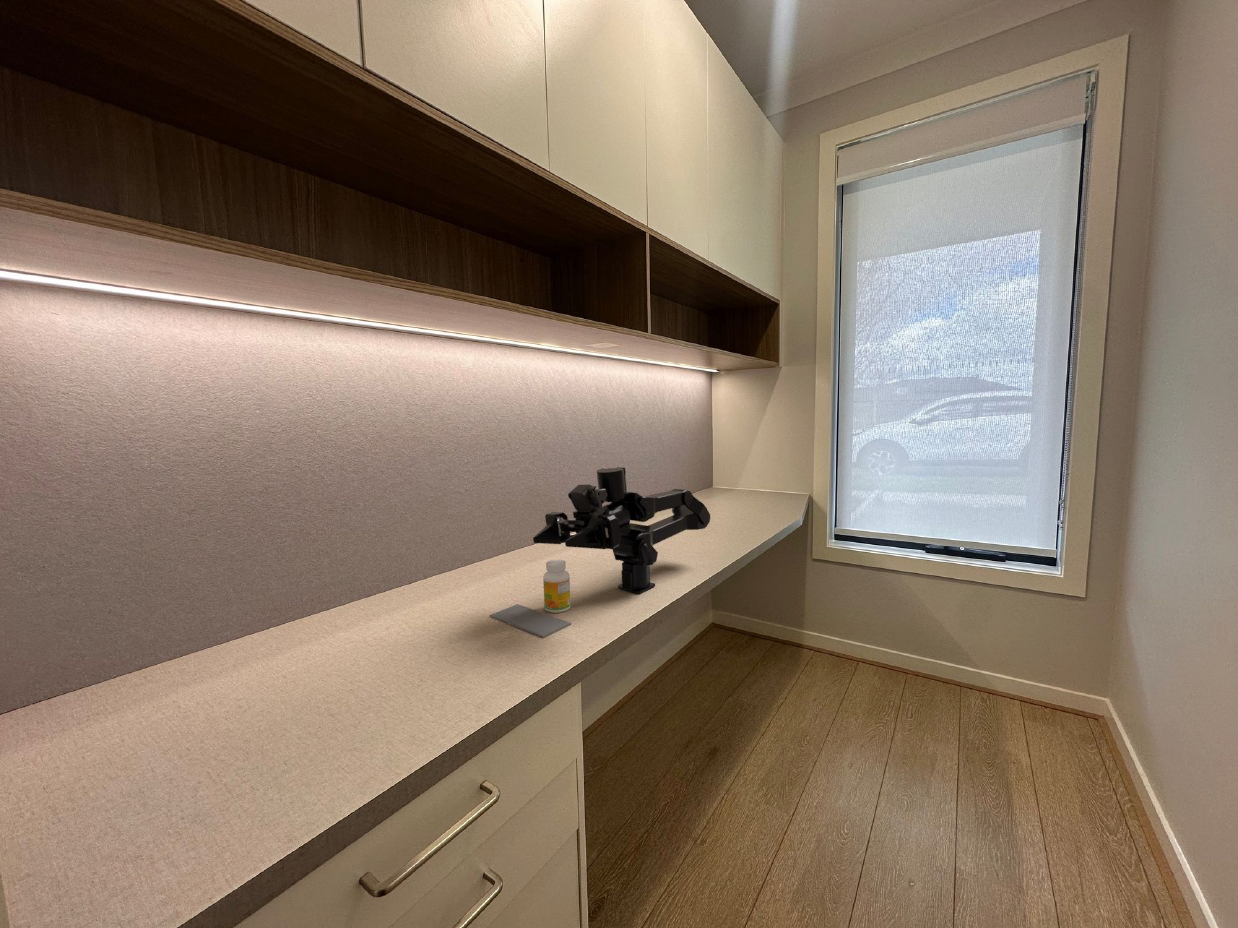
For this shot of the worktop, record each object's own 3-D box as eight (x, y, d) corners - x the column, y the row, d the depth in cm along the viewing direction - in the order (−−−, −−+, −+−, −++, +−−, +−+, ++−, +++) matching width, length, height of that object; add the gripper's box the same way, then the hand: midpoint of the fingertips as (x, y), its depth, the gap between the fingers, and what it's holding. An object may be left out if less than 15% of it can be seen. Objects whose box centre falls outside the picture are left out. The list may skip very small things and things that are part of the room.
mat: (517, 605, 102) (517, 603, 102) (571, 624, 92) (571, 622, 92) (489, 616, 96) (489, 614, 96) (543, 637, 86) (543, 636, 86)
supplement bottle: (539, 607, 100) (537, 562, 99) (561, 601, 104) (560, 556, 103) (553, 615, 96) (551, 568, 95) (575, 608, 99) (574, 562, 98)
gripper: (569, 482, 107) (511, 499, 95) (633, 481, 94) (576, 500, 83) (577, 531, 108) (521, 553, 97) (641, 536, 96) (586, 562, 84)
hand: (549, 542), depth 90 cm, fingers open, 9 cm apart
